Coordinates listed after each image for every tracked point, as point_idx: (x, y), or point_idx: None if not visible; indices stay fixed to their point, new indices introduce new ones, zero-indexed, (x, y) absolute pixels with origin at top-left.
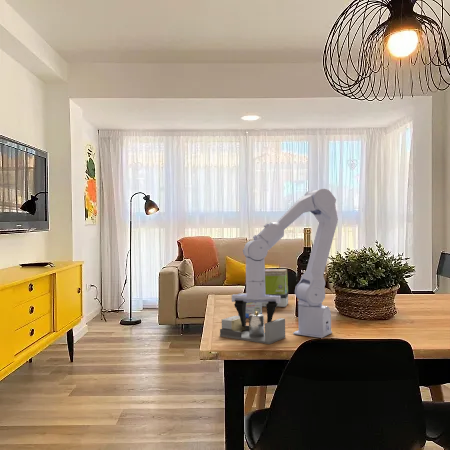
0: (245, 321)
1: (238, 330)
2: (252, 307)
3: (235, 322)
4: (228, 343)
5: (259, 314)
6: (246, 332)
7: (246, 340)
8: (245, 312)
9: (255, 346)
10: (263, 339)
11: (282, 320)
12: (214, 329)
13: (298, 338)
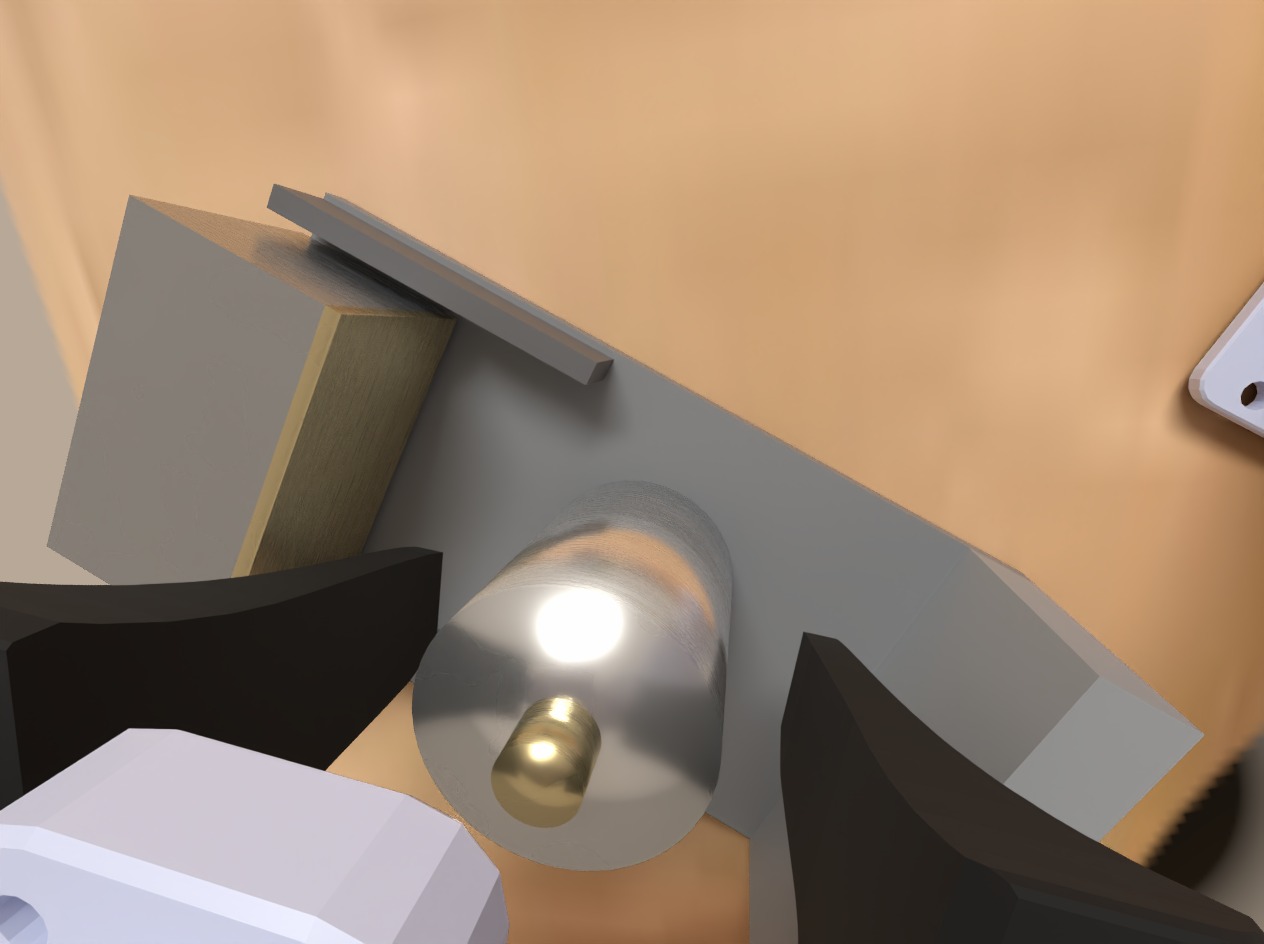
0: (410, 588)
1: (382, 472)
2: None
3: (275, 567)
4: (390, 788)
5: (616, 665)
6: (489, 423)
7: None
8: (303, 600)
9: (656, 905)
10: (729, 763)
11: (1115, 799)
12: (74, 166)
13: (1219, 609)
